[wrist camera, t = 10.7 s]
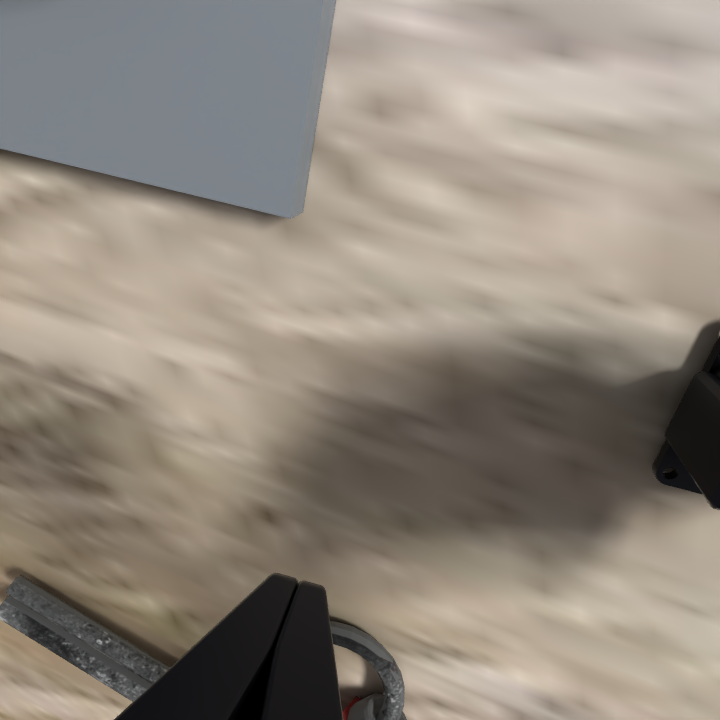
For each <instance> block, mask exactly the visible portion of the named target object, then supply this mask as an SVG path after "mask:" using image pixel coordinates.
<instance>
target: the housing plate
mask: <svg viewBox="0 0 720 720" xmlns="http://www.w3.org/2000/svg"><path fill="white" fill-rule="evenodd" d="M335 4H336V0H0V149H5V150H9V151H13V152H17V153H21V154H25V155H29V156H33V157H38V158H42V159H46V160H50V161H54V162H58V163H62V164H66V165H71V166H75V167H79V168H83V169H87V170H91V171H95V172H100V173H104V174H108V175H112V176H116V177H120V178H124V179H128V180H133V181H137V182H141V183H145V184H149V185H153V186H157V187H162V188H166V189H170V190H174V191H178V192H182V193H186V194H190V195H195V196H199V197H203V198H207V199H211V200H215V201H219V202H224V203H228V204H232V205H236V206H240V207H244V208H248V209H252V210H257V211H261V212H265V213H269V214H273V215H277V216H281V217H285V218H290V219H291V218H293V217H295V216H297V215H299V214H300V213H302V212H303V207H304V201H305V195H306V188H307V182H308V176H309V169H310V163H311V156H312V150H313V144H314V137H315V131H316V125H317V118H318V112H319V105H320V99H321V93H322V86H323V80H324V74H325V67H326V61H327V55H328V48H329V42H330V35H331V29H332V23H333V16H334V10H335Z"/></svg>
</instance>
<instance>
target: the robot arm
mask: <svg viewBox="0 0 720 720" xmlns="http://www.w3.org/2000/svg"><path fill="white" fill-rule="evenodd" d="M665 437H666V438H667V439H666V441H665V443H664V445H663V447H662V449H661V451H660V452H659V454H658V456H657V458H656V460H655V462H654V464H653V468H652V469H653V473H654V474H655V476H656V478H657V479H658V480H659V482H661V483H663V484H665V485H669V486H673V487H677V488H680V489H684V490H688V491H692V492H695V493H699V494H703V495H704V497H705V498H706V500H707V501H708V503H709V504H710V506H711V507H712V508H714V509H717V510H720V337H719V339H718V341H717V343H716V345H715V347H714V349H713V350H712V352H711V354H710V356H709V358H708V360H707V362H706V364H705V366H704V368H703V370H702V372H700V373H698V374H697V375H695V376H694V377H693V379H692V381H691V383H690V385H689V387H688V389H687V391H686V393H685V395H684V397H683V399H682V400H681V402H680V404H679V406H678V408H677V410H676V412H675V414H674V416H673V418H672V420H671V422H670V424H669V426H668V428H667V430H666V432H665ZM668 468H674V470H673V471H672V472H670V473H663V472H664V471H665V470H666V469H668ZM114 720H343V713H342V706H341V699H340V691H339V684H338V677H337V669H336V662H335V655H334V647H333V640H332V633H331V625H330V618H329V611H328V603H327V596H326V590H325V588H324V587H323V586H321V585H318V584H314V583H311V582H307V581H300V582H299V584H298V581H297V579H296V578H293V577H290V576H286V575H283V574H279V573H273V574H271V575H270V576H269V577H268V578H267V579H266V580H264V581H263V582H262V583H261V584H260V585H259V586H258V587H257V588H256V589H255V590H254V591H253V592H252V593H250V594H249V595H248V596H247V597H246V598H245V599H244V600H243V601H242V602H241V603H240V604H239V605H237V606H236V607H235V608H234V609H233V610H232V611H231V612H230V613H229V614H228V615H227V616H226V617H224V618H223V619H222V620H221V621H220V622H219V623H218V624H217V625H216V626H215V627H214V628H213V629H211V630H210V631H209V632H208V633H207V634H206V635H205V636H204V637H203V638H202V639H201V640H200V641H199V642H197V643H196V644H195V645H194V646H193V647H192V648H191V649H190V650H189V651H188V652H187V653H186V654H184V655H183V656H182V657H181V658H180V659H179V660H178V661H177V662H176V663H175V664H174V665H173V666H171V667H170V668H169V669H168V670H167V671H166V672H165V673H164V674H163V675H162V676H161V677H160V678H159V679H157V680H156V681H155V682H154V683H153V684H152V685H151V686H150V687H149V688H148V689H147V690H146V691H144V692H143V693H142V694H141V695H140V696H139V697H138V698H137V699H136V700H135V701H134V702H133V703H131V704H130V705H129V706H128V707H127V708H126V709H125V710H124V711H123V712H122V713H121V714H120V715H119V716H117V717H116V718H115V719H114Z"/></svg>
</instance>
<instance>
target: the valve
mask: <svg viewBox="0 0 720 720" xmlns="http://www.w3.org/2000/svg"><path fill="white" fill-rule="evenodd" d="M6 593H7V594H9V596H8V597H7V598H6V599H5V600H4V601H3V603H2V604H1V605H0V619H1V620H2V621H4V622H5V623H7V624H9V625H10V626H12V627H13V628H15V629H17V630H18V631H20V632H22V633H23V634H25V635H26V636H28V637H30V638H31V639H33V640H34V641H36V642H38V643H39V644H41V645H42V646H44V647H46V648H47V649H49V650H50V651H52V652H54V653H55V654H57V655H58V656H60V657H62V658H63V659H65V660H67V661H68V662H70V663H71V664H73V665H75V666H76V667H78V668H79V669H81V670H83V671H84V672H86V673H87V674H89V675H91V676H92V677H94V678H95V679H97V680H99V681H100V682H102V683H104V684H105V685H107V686H108V687H110V688H112V689H113V690H115V691H116V692H118V693H120V694H121V695H123V696H124V697H126V698H128V699H129V700H131V701H132V702H134V701H135V700H136V699H137V698H138V697H139V696H140V695H141V694H142V693H143V692H144V691H146V690H147V689H148V688H149V687H150V686H151V685H152V684H153V683H154V682H155V681H156V680H157V679H159V678H160V677H161V676H162V675H163V674H164V673H165V672H166V671H167V670H168V669H169V668H170V667H169V666H168V665H166V664H165V663H163V662H161V661H160V660H158V659H157V658H155V657H153V656H152V655H150V654H148V653H147V652H145V651H144V650H142V649H140V648H139V647H137V646H136V645H134V644H132V643H131V642H129V641H127V640H126V639H124V638H123V637H121V636H119V635H118V634H116V633H114V632H113V631H111V630H110V629H108V628H106V627H105V626H103V625H102V624H100V623H98V622H97V621H95V620H93V619H92V618H90V617H89V616H87V615H85V614H84V613H82V612H81V611H79V610H77V609H76V608H74V607H72V606H71V605H69V604H68V603H66V602H64V601H63V600H61V599H59V598H58V597H56V596H55V595H53V594H51V593H50V592H48V591H47V590H45V589H43V588H42V587H40V586H38V585H37V584H35V583H34V582H32V581H30V580H29V579H27V578H25V577H24V576H22V575H20V576H19V577H17V578H16V579H15V580H14V581H13V583H12V584H11V585H10V586H9V588H8V589H7V592H6ZM330 625H331V633H332V640H333V644H335V645H338V646H342V647H345V648H348V649H350V650H352V651H353V652H355V653H357V654H359V655H361V656H362V657H363V658H365V659H366V660H367V661H368V662H370V663H371V665H372V666H373V667H374V668H375V669H376V671H377V672H378V674H379V676H380V678H381V680H382V683H383V687H384V690H385V695H383V694H376V693H374V694H372V695H370V696H368V697H366V698H364V699H361V698H359V697H358V696H356V697H355V698H354V699H353V700H352V701H351V702H350V703H349V705H348V706H347V707H346V708H345V709H344V710H343V711H342V713H343V720H407V719H406V717H405V714H404V713H403V711H402V710H403V707H404V683H403V679H402V675H401V671H400V670H399V668H398V666H397V664H396V662H395V660H394V658H393V657H392V656H391V655H390V654H389V652H388V651H387V650H386V649H385V648H384V647H383V646H382V645H381V644H380V643H379V642H378V641H376V640H375V639H374V638H372V637H371V636H370V635H368V634H367V633H365V632H363V631H361V630H359V629H357V628H355V627H353V626H350V625H346V624H343V623H339V622H334V621H330Z"/></svg>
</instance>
